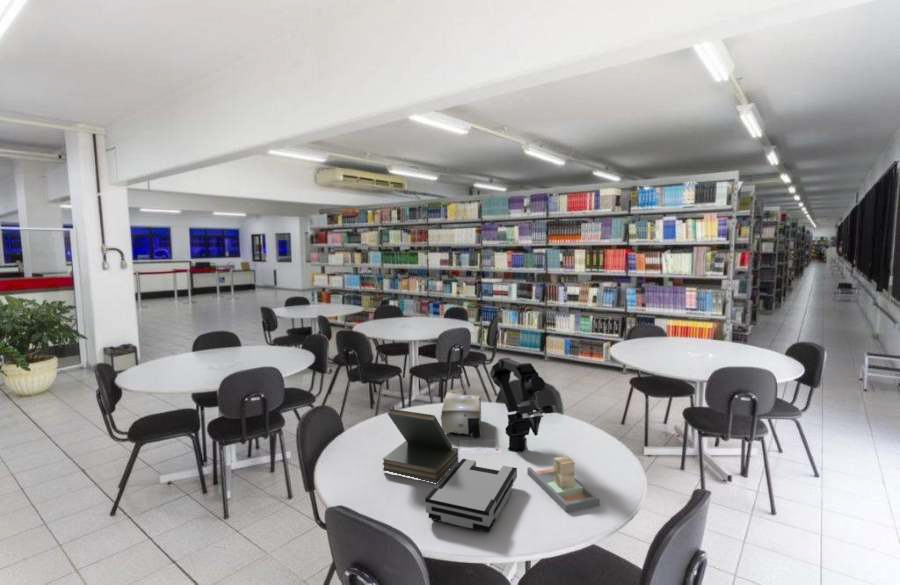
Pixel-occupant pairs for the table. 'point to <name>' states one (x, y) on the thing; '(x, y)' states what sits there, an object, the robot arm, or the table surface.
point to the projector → (461, 413)
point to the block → (564, 472)
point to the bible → (420, 447)
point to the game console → (471, 495)
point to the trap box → (564, 491)
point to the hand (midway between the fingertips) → (536, 435)
